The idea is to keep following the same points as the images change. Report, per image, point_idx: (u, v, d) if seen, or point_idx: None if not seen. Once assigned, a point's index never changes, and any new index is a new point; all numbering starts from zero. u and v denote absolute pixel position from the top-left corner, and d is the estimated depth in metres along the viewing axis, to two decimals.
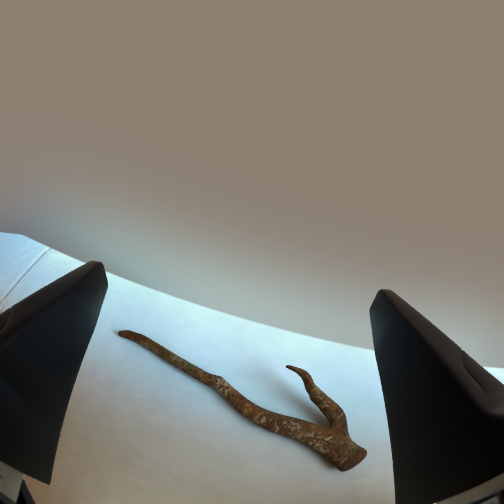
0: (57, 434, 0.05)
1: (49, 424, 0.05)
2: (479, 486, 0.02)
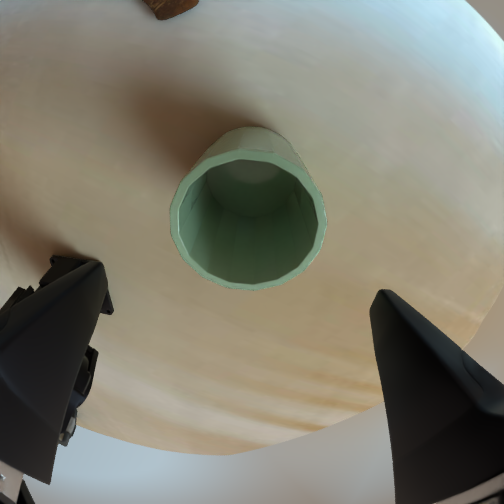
0: (56, 434, 0.05)
1: (48, 424, 0.05)
2: (479, 486, 0.02)
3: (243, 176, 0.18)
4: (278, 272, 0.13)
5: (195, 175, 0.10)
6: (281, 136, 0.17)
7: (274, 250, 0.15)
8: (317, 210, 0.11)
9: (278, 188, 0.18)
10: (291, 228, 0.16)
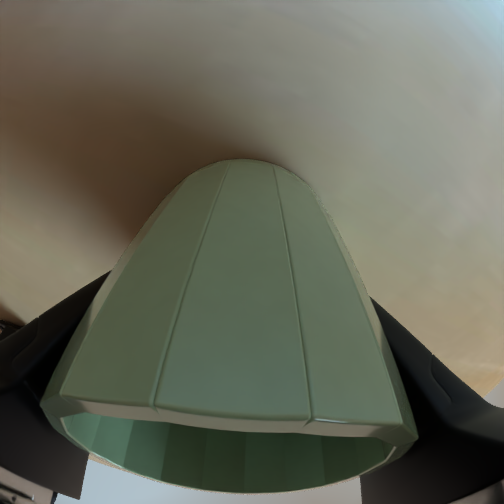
0: None
1: None
2: None
3: None
4: (288, 477, 0.05)
5: (60, 412, 0.02)
6: (300, 179, 0.09)
7: None
8: (394, 453, 0.03)
9: None
10: None
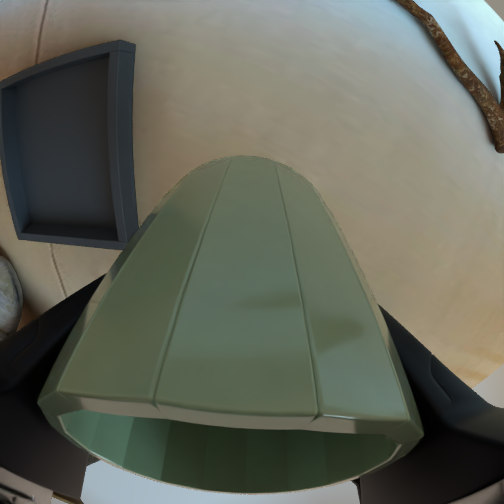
0: None
1: None
2: None
3: None
4: (290, 477, 0.05)
5: (58, 409, 0.02)
6: (301, 176, 0.09)
7: None
8: (399, 451, 0.03)
9: None
10: None
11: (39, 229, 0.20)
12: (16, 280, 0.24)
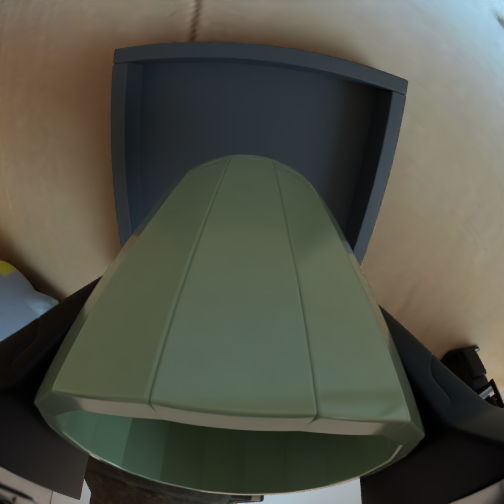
0: None
1: None
2: None
3: None
4: (289, 478, 0.05)
5: (54, 409, 0.02)
6: (301, 175, 0.09)
7: None
8: (399, 452, 0.03)
9: None
10: None
11: None
12: None
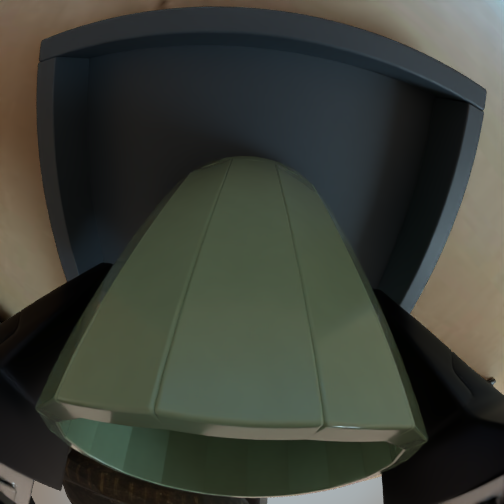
0: None
1: None
2: (467, 493, 0.02)
3: None
4: (291, 480, 0.05)
5: (56, 416, 0.02)
6: (303, 176, 0.09)
7: None
8: (402, 456, 0.03)
9: None
10: None
11: None
12: None
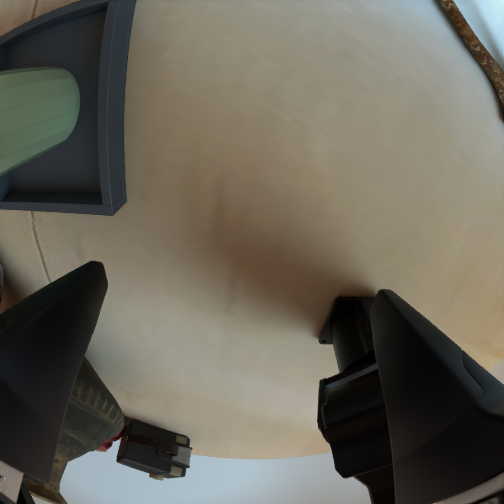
0: (56, 434, 0.05)
1: (48, 424, 0.05)
2: (479, 486, 0.02)
3: None
4: None
5: None
6: (62, 68, 0.12)
7: (16, 157, 0.11)
8: None
9: None
10: (36, 137, 0.11)
11: (20, 197, 0.17)
12: None
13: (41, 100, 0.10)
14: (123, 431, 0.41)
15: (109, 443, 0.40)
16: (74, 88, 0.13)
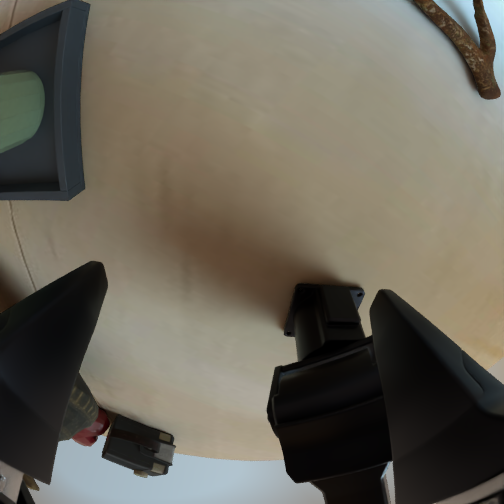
0: (56, 434, 0.05)
1: (48, 424, 0.05)
2: (479, 486, 0.02)
3: None
4: None
5: None
6: (31, 71, 0.12)
7: None
8: None
9: None
10: (4, 132, 0.11)
11: None
12: None
13: (7, 100, 0.10)
14: (107, 426, 0.40)
15: (94, 438, 0.39)
16: (39, 88, 0.13)
